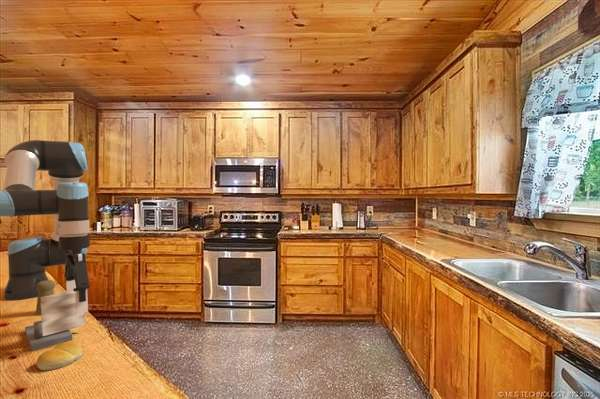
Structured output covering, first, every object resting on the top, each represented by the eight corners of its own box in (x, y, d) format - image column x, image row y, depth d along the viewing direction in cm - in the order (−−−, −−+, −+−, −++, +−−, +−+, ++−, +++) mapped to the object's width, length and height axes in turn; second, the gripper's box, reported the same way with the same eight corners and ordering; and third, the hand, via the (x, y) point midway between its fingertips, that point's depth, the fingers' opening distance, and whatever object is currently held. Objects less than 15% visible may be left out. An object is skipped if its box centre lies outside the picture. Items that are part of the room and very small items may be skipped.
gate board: (25, 332, 98) (24, 327, 98) (61, 323, 104) (61, 318, 104) (31, 351, 86) (31, 345, 86) (72, 339, 92) (72, 334, 92)
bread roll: (28, 370, 77) (27, 353, 77) (64, 351, 86) (63, 336, 86) (55, 374, 75) (55, 357, 75) (89, 355, 84) (89, 339, 84)
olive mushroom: (45, 315, 111) (44, 283, 111) (30, 314, 112) (29, 283, 112) (61, 309, 117) (60, 279, 117) (47, 308, 118) (46, 278, 118)
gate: (34, 339, 89) (33, 300, 88) (33, 336, 90) (32, 298, 90) (85, 326, 97) (84, 290, 97) (83, 323, 99) (82, 289, 98)
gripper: (51, 233, 102) (54, 300, 103) (66, 240, 84) (70, 322, 85) (80, 230, 107) (82, 294, 108) (100, 237, 90) (102, 314, 90)
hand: (77, 306), depth 96 cm, fingers open, 13 cm apart
